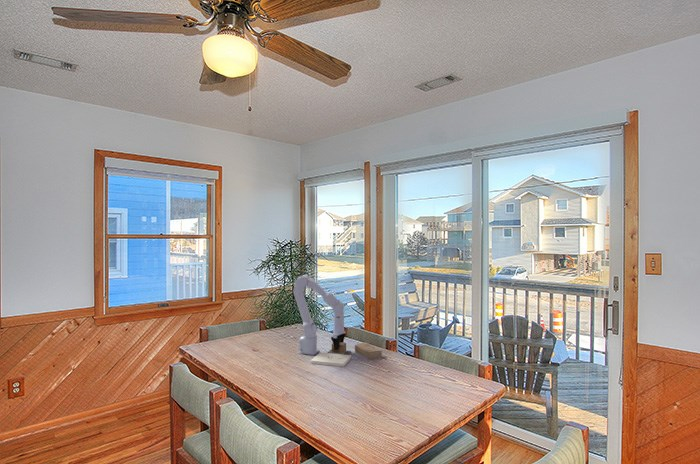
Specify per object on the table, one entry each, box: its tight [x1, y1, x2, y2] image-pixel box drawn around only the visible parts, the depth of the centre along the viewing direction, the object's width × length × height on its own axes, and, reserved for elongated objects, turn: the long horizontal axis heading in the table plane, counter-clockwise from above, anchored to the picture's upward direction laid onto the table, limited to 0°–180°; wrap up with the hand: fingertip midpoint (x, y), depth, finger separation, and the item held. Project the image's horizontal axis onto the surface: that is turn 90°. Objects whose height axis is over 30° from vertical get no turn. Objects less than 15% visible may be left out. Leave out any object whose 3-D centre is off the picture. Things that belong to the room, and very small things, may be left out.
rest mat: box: [327, 348, 352, 355], centre depth 210 cm, size 12×8×1 cm, turn 74°
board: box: [310, 351, 352, 367], centre depth 198 cm, size 18×14×2 cm
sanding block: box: [331, 342, 347, 354], centre depth 210 cm, size 7×5×5 cm
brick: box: [354, 342, 383, 360], centre depth 208 cm, size 17×8×5 cm, turn 31°
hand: (338, 347), depth 210 cm, fingers open, 7 cm apart
